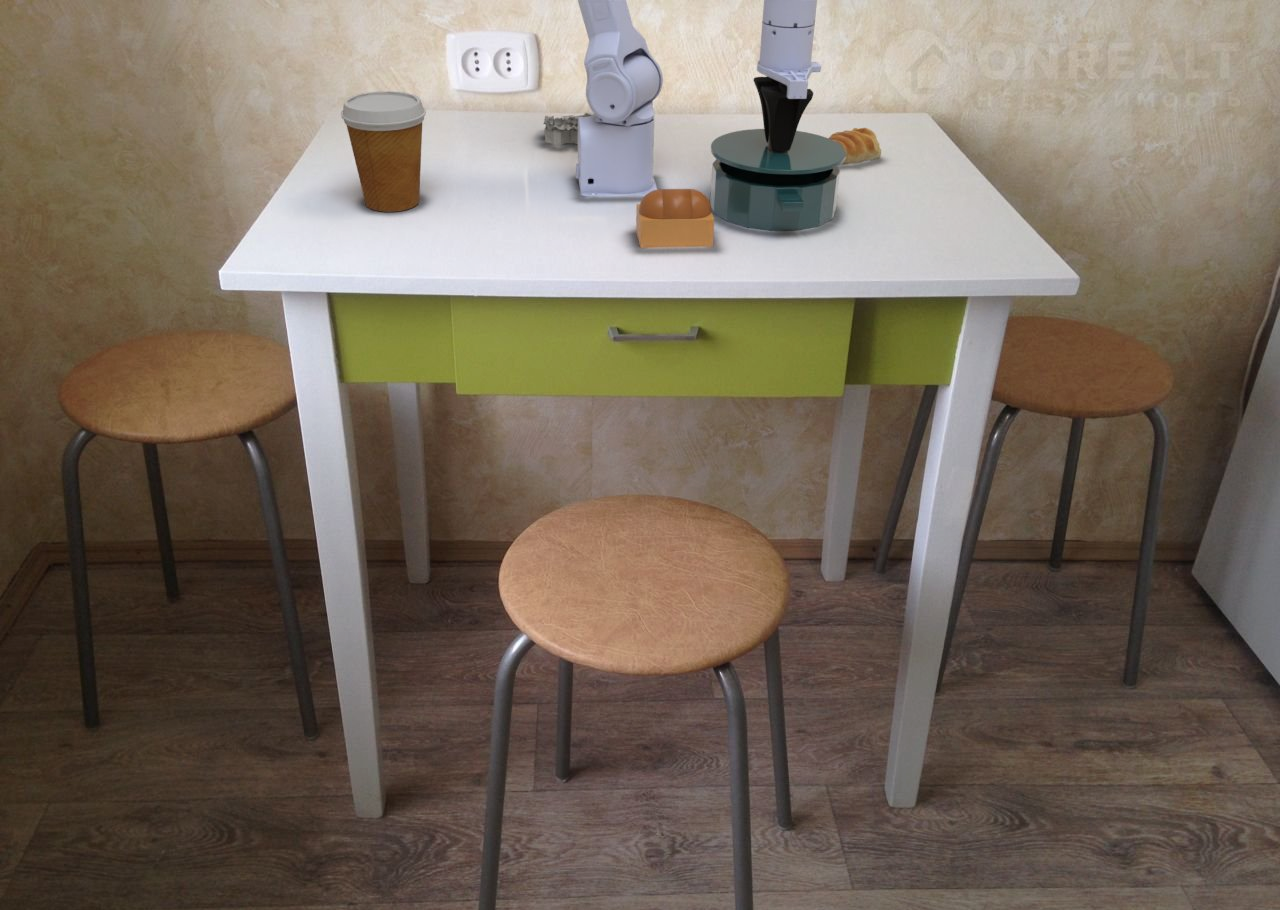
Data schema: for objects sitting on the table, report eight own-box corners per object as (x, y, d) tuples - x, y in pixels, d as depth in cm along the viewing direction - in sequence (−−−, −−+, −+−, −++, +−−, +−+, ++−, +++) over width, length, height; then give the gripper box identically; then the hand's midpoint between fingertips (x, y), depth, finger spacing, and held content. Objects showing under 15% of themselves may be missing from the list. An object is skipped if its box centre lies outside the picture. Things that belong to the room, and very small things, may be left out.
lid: (721, 180, 125) (724, 138, 123) (701, 138, 138) (703, 99, 136) (860, 179, 127) (865, 137, 124) (827, 137, 140) (831, 98, 137)
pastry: (836, 174, 148) (839, 144, 146) (799, 161, 153) (801, 132, 151) (884, 160, 153) (887, 132, 151) (846, 148, 158) (849, 120, 156)
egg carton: (621, 135, 161) (622, 106, 158) (619, 152, 154) (620, 121, 152) (546, 133, 161) (545, 103, 158) (541, 149, 154) (540, 119, 152)
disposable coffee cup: (402, 184, 141) (393, 85, 135) (448, 204, 136) (441, 102, 129) (335, 201, 136) (323, 99, 129) (381, 223, 130) (370, 117, 124)
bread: (640, 251, 125) (641, 198, 121) (635, 234, 129) (637, 183, 126) (712, 250, 125) (715, 197, 122) (705, 233, 130) (708, 182, 126)
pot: (725, 244, 127) (728, 197, 124) (699, 184, 144) (701, 141, 141) (853, 242, 128) (859, 195, 125) (813, 183, 145) (817, 140, 142)
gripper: (840, 37, 119) (826, 165, 126) (809, 8, 131) (798, 127, 138) (774, 37, 118) (763, 166, 125) (748, 8, 130) (740, 127, 137)
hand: (777, 145), depth 132 cm, fingers closed on lid, 2 cm apart
